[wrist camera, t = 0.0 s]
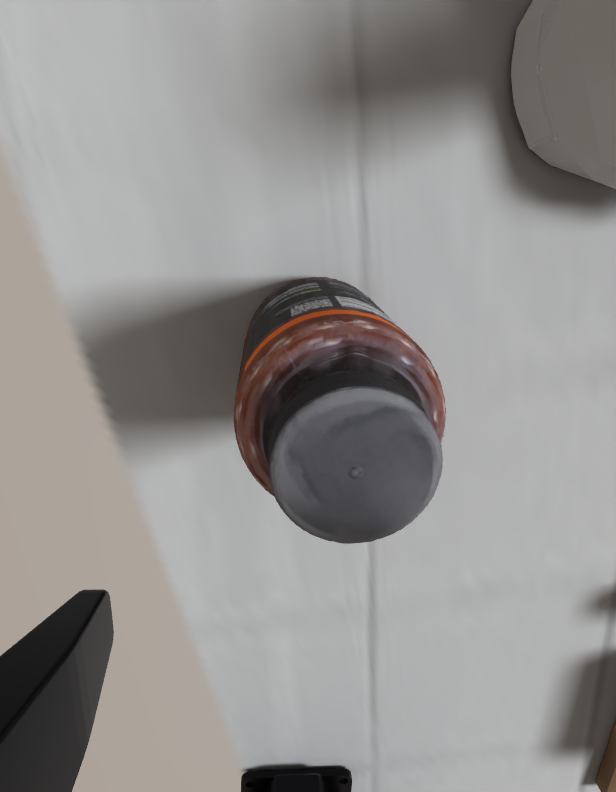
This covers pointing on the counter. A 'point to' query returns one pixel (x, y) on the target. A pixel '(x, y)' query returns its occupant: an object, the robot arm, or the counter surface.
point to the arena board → (608, 766)
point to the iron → (568, 85)
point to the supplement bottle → (338, 412)
